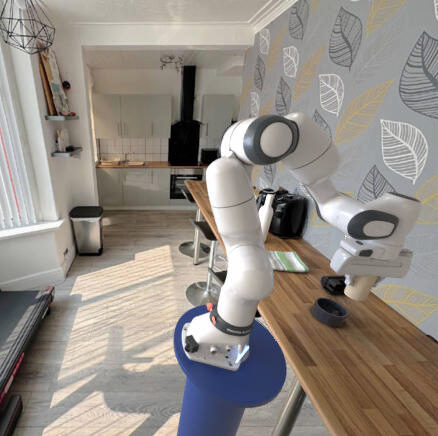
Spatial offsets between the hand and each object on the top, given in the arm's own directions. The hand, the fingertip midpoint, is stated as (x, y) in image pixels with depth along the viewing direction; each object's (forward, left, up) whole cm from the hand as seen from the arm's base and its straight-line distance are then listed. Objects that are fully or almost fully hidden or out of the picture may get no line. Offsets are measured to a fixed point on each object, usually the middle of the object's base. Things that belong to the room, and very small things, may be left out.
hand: (359, 285), depth 74 cm
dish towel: (+2, +47, -24) cm, 53 cm away
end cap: (+18, +27, -24) cm, 40 cm away
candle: (0, 0, -4) cm, 4 cm away
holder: (+4, +10, -23) cm, 26 cm away
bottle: (+1, +72, -24) cm, 76 cm away
